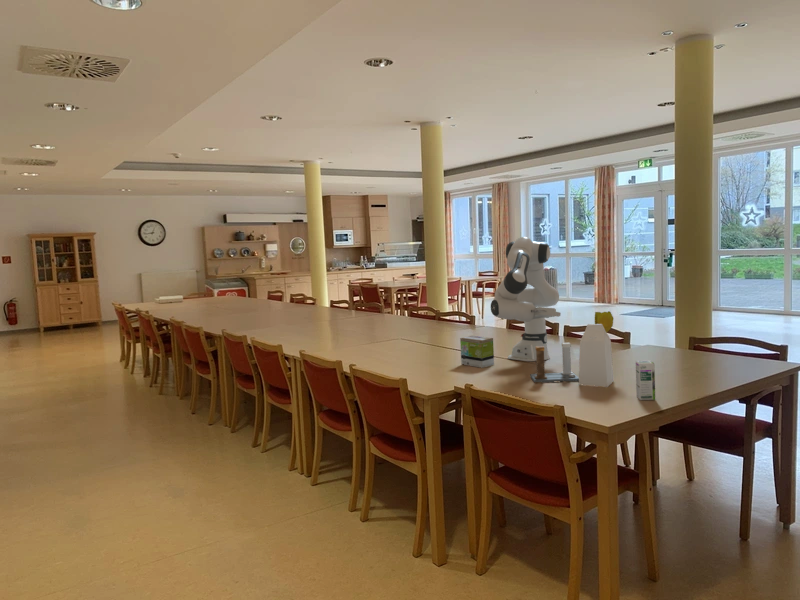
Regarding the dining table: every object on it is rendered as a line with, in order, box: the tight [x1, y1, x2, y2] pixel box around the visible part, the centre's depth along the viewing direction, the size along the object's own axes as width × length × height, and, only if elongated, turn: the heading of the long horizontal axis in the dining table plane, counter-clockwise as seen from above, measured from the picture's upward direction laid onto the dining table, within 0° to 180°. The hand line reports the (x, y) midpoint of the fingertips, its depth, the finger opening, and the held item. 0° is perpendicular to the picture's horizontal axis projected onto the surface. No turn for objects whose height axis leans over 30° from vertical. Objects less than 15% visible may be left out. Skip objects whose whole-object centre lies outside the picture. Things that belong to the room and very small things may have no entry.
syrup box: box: [635, 360, 656, 401], centre depth 227 cm, size 6×6×14 cm
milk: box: [578, 323, 615, 388], centre depth 255 cm, size 12×12×26 cm
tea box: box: [459, 335, 495, 369], centre depth 308 cm, size 15×10×15 cm, turn 42°
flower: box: [594, 310, 614, 333], centre depth 267 cm, size 9×8×30 cm
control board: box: [529, 372, 579, 384], centre depth 268 cm, size 20×13×2 cm, turn 86°
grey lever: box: [560, 342, 574, 375], centre depth 270 cm, size 5×4×14 cm
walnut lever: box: [535, 346, 547, 379], centre depth 265 cm, size 5×4×14 cm
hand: (554, 315), depth 264 cm, fingers open, 8 cm apart
